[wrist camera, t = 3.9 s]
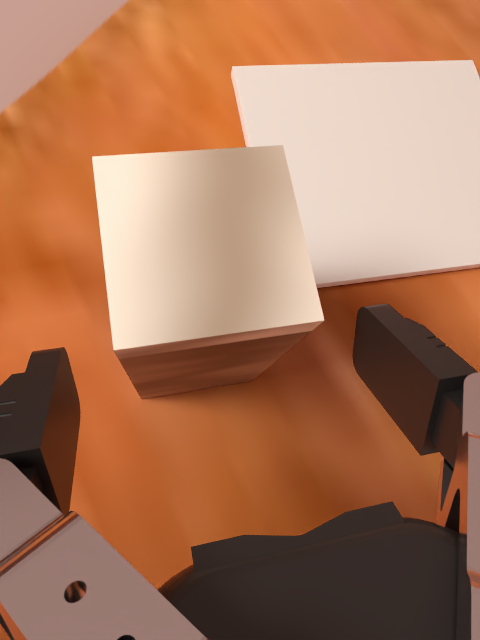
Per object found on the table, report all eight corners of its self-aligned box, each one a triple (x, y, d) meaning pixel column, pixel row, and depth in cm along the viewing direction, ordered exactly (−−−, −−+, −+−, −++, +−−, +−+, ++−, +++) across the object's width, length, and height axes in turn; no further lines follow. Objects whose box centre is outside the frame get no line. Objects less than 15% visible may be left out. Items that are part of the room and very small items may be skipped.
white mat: (277, 292, 22) (280, 288, 21) (231, 75, 25) (232, 66, 24) (538, 259, 25) (547, 255, 24) (466, 68, 28) (472, 60, 27)
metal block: (141, 399, 19) (113, 350, 10) (128, 291, 21) (92, 156, 11) (252, 380, 20) (324, 320, 11) (233, 278, 22) (283, 144, 12)
